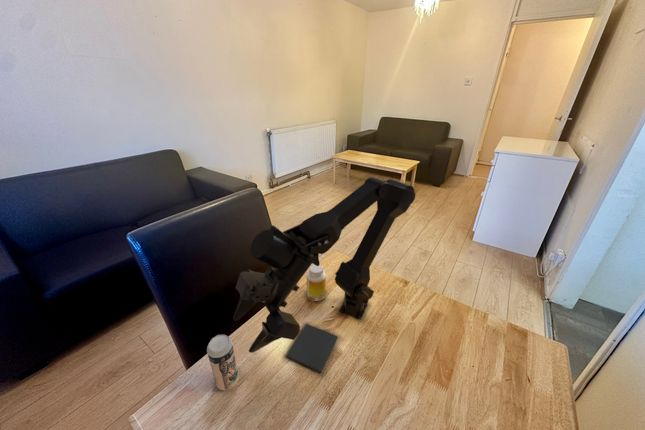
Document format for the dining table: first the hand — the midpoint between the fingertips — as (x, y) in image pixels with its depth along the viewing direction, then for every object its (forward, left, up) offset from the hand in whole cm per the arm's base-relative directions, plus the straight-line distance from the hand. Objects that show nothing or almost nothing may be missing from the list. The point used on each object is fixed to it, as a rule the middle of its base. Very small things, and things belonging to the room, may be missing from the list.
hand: (242, 335), depth 53 cm
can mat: (-11, +11, -11) cm, 19 cm away
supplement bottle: (-27, +4, -11) cm, 30 cm away
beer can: (+4, -2, -11) cm, 12 cm away
